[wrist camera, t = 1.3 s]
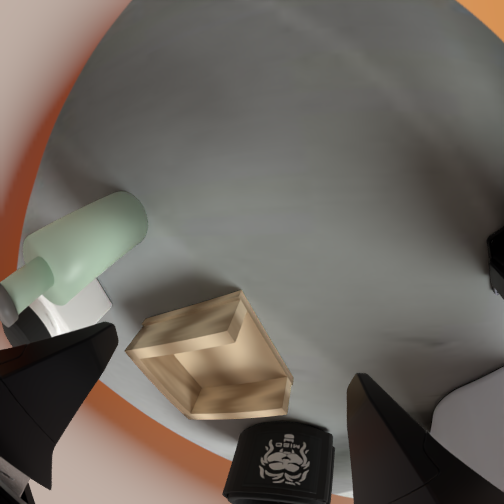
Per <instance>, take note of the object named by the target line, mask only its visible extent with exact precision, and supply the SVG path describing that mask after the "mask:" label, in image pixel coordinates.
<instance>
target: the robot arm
mask: <svg viewBox="0 0 504 504" xmlns="http://www.w3.org/2000/svg"><path fill="white" fill-rule="evenodd" d="M492 240H493V242H492ZM491 242H492V243H491ZM487 246H488V251H489V258H490V261H489V268H490V276H491V284H492V286H493V292H494V293H495V294H496V295H499V294H500V295H501V297H502V298H503V299H504V227H503V228H501V229H500V230H498V231H497V232H495V233H494V234H492V235H491V236H489V238H488V240H487ZM117 345H118V336H117V332H116V328H115V325H114V324H112V323H109V322H102V323H98V324H95V325H91V326H88V327H85V328H81V329H78V330H74V331H71V332H68V333H64V334H61V335H57V336H54V337H50V338H47V339H43V340H39V341H36V342H32V343H29V344H24V345H20V346H16V347H12V348H8V349H3V350H0V504H35V502H34V499H33V496H32V493H31V490H30V486H29V483H28V481H29V480H30V478H31V479H32V480H34V481H36V482H37V483H39V484H40V485H42V486H44V487H45V488H47V489H49V490H51V486H52V481H51V480H52V454H53V450H54V447H55V446H56V444H57V442H58V440H59V439H60V437H61V436H62V434H63V433H64V431H65V429H66V428H67V426H68V425H69V423H70V421H71V420H72V418H73V417H74V415H75V414H76V412H77V411H78V409H79V407H80V406H81V404H82V403H83V401H84V400H85V398H86V397H87V395H88V394H89V392H90V391H91V389H92V388H93V386H94V385H95V383H96V382H97V381H98V379H99V378H100V376H101V375H102V373H103V372H104V370H105V368H106V366H107V364H108V362H109V360H110V359H111V357H112V355H113V353H114V351H115V349H116V347H117ZM347 431H348V439H349V449H350V458H351V469H352V482H353V497H354V504H504V492H503V491H501V490H500V489H498V488H497V487H496V486H494V485H493V484H492V483H490V482H489V481H487V480H486V479H485V478H483V477H482V476H481V475H479V474H478V473H477V472H475V471H474V470H473V469H471V468H470V467H469V466H467V465H466V464H465V463H463V462H462V461H461V460H459V459H458V458H457V457H456V456H454V455H453V454H452V453H450V452H449V451H448V450H447V449H446V448H444V447H443V446H442V445H441V444H440V443H439V442H438V441H436V440H435V439H434V438H433V437H432V436H431V435H430V434H429V433H428V432H426V431H425V430H424V429H423V428H422V427H421V426H420V425H419V424H418V423H417V422H416V421H415V420H414V419H413V418H412V417H411V416H410V415H409V414H408V413H407V412H406V411H405V410H404V409H403V408H402V407H401V406H400V405H399V404H398V403H396V402H395V401H394V400H393V399H392V398H391V397H390V396H389V395H388V394H387V393H386V392H385V391H384V390H383V389H382V388H381V387H380V386H379V385H378V384H377V383H376V382H375V381H374V380H373V379H372V378H371V377H370V376H369V375H368V374H366V373H356V374H355V376H354V377H353V379H352V381H351V382H350V384H349V386H348V389H347Z"/></svg>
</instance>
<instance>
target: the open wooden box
mask: <svg viewBox="0 0 504 504" xmlns="http://www.w3.org/2000/svg"><path fill="white" fill-rule="evenodd" d="M142 325H143V327H142V329H141V330H140V331H139V332H138V334H137V335H136V336H135V338H134V339H133V340H132V342H131V343H130V344H129V346H128V347H127V348H126V350H125V352H126V353H127V355H128V356H129V357H130V358H131V359H132V361H133V362H134V363H135V364H136V365H137V366H138V368H139V369H140V370H141V371H142V372H143V373H144V374H145V376H146V377H147V378H148V379H149V380H150V381H151V382H152V383H153V384H154V385H155V386H156V387H157V389H158V390H159V391H160V392H161V393H162V394H163V395H164V396H165V397H166V398H167V399H168V400H169V401H170V402H171V403H172V404H173V405H174V406H175V407H176V408H177V409H178V410H179V411H180V412H181V413H183V414H184V415H185V416H186V417H187V418H188V419H196V420H214V419H242V418H257V417H269V416H278V415H287V411H288V405H289V398H290V391H291V385H293V379H294V378H293V376H292V374H291V373H290V371H289V370H288V368H287V366H286V365H285V363H284V361H283V360H282V358H281V356H280V355H279V353H278V351H277V350H276V348H275V346H274V345H273V343H272V341H271V339H270V338H269V336H268V334H267V333H266V331H265V329H264V328H263V326H262V324H261V322H260V321H259V319H258V317H257V316H256V314H255V312H254V310H253V309H252V307H251V305H250V304H249V302H248V300H247V298H246V297H245V295H244V293H243V291H242V290H240V291H237V292H234V293H230V294H227V295H224V296H221V297H217V298H214V299H211V300H208V301H204V302H201V303H198V304H194V305H191V306H188V307H184V308H181V309H178V310H174V311H171V312H167V313H164V314H160V315H157V316H153V317H150V318H146V319H145V320H144V322H143V323H142Z"/></svg>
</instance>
